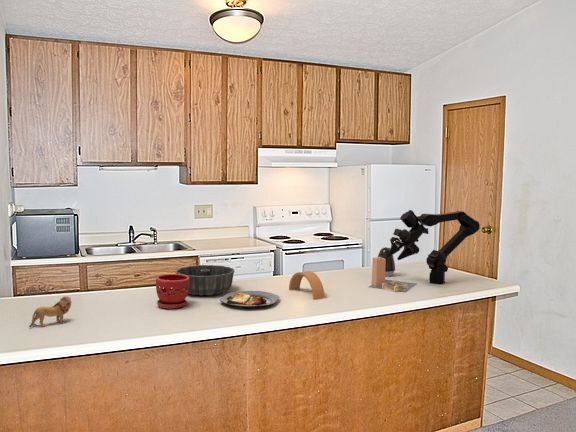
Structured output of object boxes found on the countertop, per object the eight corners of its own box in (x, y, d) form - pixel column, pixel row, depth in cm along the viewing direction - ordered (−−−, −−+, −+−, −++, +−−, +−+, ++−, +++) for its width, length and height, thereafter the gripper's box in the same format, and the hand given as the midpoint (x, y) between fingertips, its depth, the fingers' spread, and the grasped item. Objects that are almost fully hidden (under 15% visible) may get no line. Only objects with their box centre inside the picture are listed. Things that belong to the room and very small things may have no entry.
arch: (313, 300, 211) (313, 277, 210) (288, 290, 228) (289, 268, 227) (324, 298, 214) (325, 275, 213) (299, 288, 231) (299, 267, 230)
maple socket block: (394, 286, 235) (394, 281, 234) (407, 289, 228) (407, 284, 228) (382, 288, 230) (382, 283, 230) (394, 292, 224) (395, 287, 223)
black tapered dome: (397, 275, 261) (398, 246, 260) (390, 279, 252) (391, 249, 251) (379, 273, 266) (380, 245, 265) (371, 276, 258) (372, 247, 256)
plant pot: (170, 312, 191) (170, 281, 190) (149, 306, 199) (148, 276, 198) (196, 305, 202) (196, 276, 200) (175, 299, 209) (174, 271, 208)
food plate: (269, 312, 192) (269, 303, 192) (212, 309, 197) (212, 300, 197) (283, 297, 217) (283, 289, 217) (232, 294, 221) (232, 287, 221)
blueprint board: (417, 284, 241) (417, 283, 241) (405, 293, 224) (405, 292, 224) (382, 280, 250) (382, 279, 250) (367, 288, 233) (367, 287, 233)
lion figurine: (68, 318, 183) (67, 294, 182) (74, 321, 179) (74, 296, 179) (26, 327, 172) (25, 301, 171) (32, 330, 169) (31, 304, 168)
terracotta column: (380, 284, 239) (381, 256, 238) (384, 286, 235) (385, 257, 233) (371, 284, 238) (372, 256, 236) (376, 286, 233) (377, 258, 232)
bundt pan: (198, 282, 241) (198, 262, 240) (245, 288, 230) (245, 267, 229) (162, 294, 218) (162, 272, 217) (212, 302, 206) (212, 278, 205)
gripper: (394, 220, 246) (373, 243, 244) (414, 225, 228) (392, 249, 226) (407, 236, 249) (387, 258, 247) (428, 241, 232) (407, 265, 229)
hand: (392, 257), depth 237 cm, fingers open, 9 cm apart
